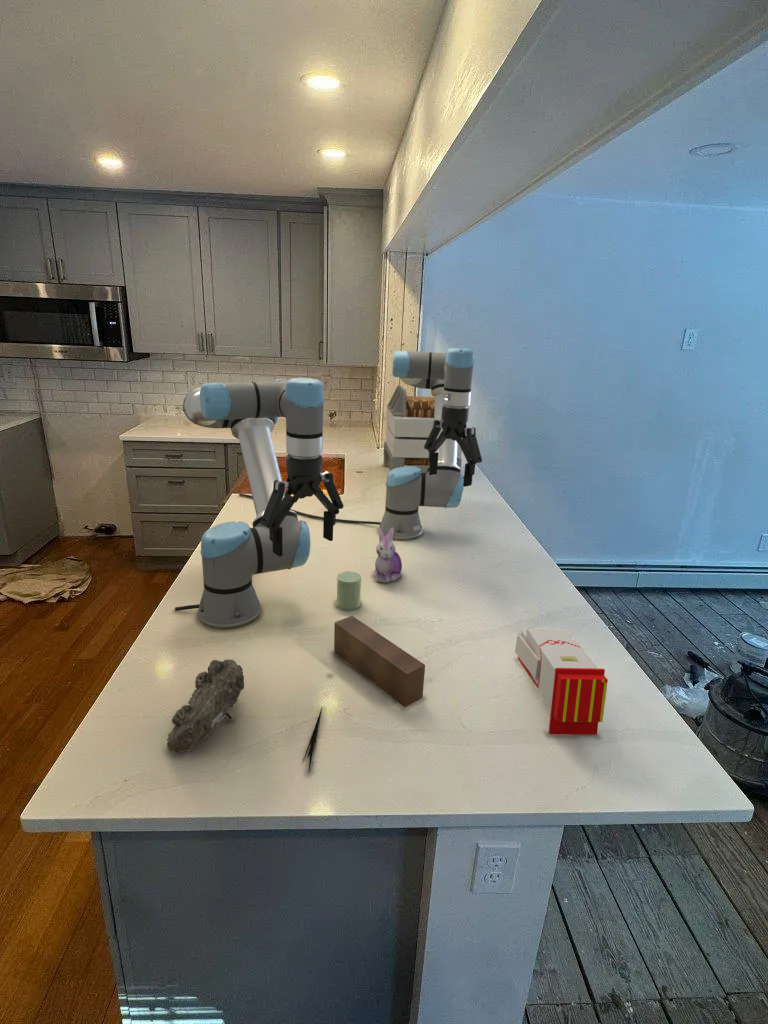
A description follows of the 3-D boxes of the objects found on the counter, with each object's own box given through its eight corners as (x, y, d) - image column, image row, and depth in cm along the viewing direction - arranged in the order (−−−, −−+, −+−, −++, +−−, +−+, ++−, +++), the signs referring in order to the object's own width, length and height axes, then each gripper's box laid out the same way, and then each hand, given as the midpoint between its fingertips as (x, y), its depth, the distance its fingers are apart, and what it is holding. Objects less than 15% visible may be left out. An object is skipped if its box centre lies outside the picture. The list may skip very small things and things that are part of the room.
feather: (331, 679, 122) (336, 673, 122) (307, 777, 96) (313, 769, 95) (324, 675, 122) (329, 669, 121) (298, 772, 95) (304, 764, 95)
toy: (561, 612, 132) (617, 675, 103) (556, 665, 135) (608, 741, 106) (510, 611, 132) (551, 674, 102) (505, 664, 134) (544, 741, 105)
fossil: (192, 660, 117) (244, 628, 112) (224, 691, 120) (276, 661, 115) (142, 746, 98) (202, 712, 93) (182, 779, 101) (242, 748, 96)
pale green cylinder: (331, 602, 152) (332, 575, 149) (350, 595, 156) (351, 569, 153) (346, 612, 147) (346, 584, 145) (365, 604, 151) (366, 577, 149)
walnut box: (334, 652, 130) (334, 622, 127) (351, 645, 133) (352, 615, 130) (404, 707, 113) (407, 674, 110) (422, 697, 116) (425, 664, 113)
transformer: (382, 463, 289) (386, 382, 275) (445, 464, 293) (451, 384, 279) (390, 482, 257) (394, 392, 243) (460, 483, 261) (468, 394, 247)
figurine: (381, 586, 161) (383, 537, 156) (365, 571, 170) (367, 525, 165) (409, 580, 165) (412, 533, 160) (393, 566, 174) (395, 521, 169)
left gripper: (339, 442, 129) (337, 528, 137) (241, 458, 113) (245, 554, 121) (361, 450, 124) (357, 538, 132) (261, 468, 108) (263, 567, 116)
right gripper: (415, 400, 163) (410, 471, 171) (481, 414, 146) (473, 493, 153) (433, 398, 168) (428, 468, 175) (500, 412, 151) (491, 488, 158)
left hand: (303, 546), depth 127 cm, fingers open, 13 cm apart
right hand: (449, 479), depth 164 cm, fingers open, 13 cm apart
